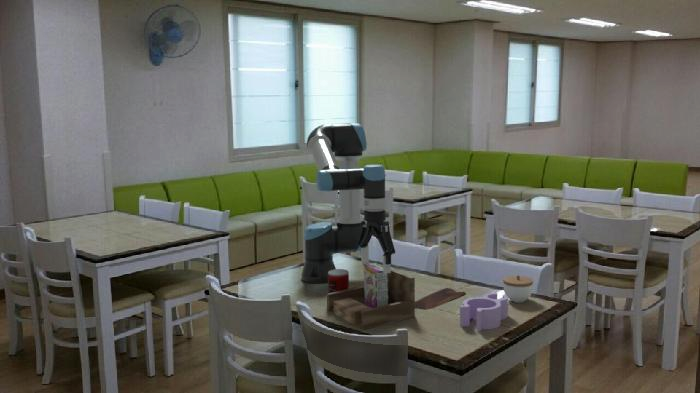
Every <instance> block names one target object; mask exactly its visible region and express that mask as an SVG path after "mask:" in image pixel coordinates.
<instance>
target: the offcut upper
mask: <svg viewBox="0 0 700 393" xmlns="http://www.w3.org/2000/svg"><path fill="white" fill-rule="evenodd" d="M334 309H336V310H338V311H340V312H342V313H344V314H346V315H347V316H349V317H351V318H353V319H359V318H361V311H363V310H367V309H371V308H370V307H368V306H366V305H365V303H360V302H358V301H356V300H354V299H352V298H348V299H343V300H338V301H334Z"/></svg>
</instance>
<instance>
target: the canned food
mask: <svg viewBox="0 0 700 393" xmlns="http://www.w3.org/2000/svg"><path fill="white" fill-rule="evenodd" d="M349 273H350V272H349V270H347V269H343V268H336V269H334V270H331V271H329V272H328V282H327V288H328V290H327V291H328V293H332V292H337V291H342V290H347V289H350V286H349V285H350V280H349V279H350V278H349V277H350V275H349Z"/></svg>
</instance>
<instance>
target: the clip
mask: <svg viewBox="0 0 700 393" xmlns="http://www.w3.org/2000/svg"><path fill="white" fill-rule="evenodd" d="M459 307H460V308H459V326H460V327H468V326H470V324H471V323H470V322H471V321H470V320H471V319H476V331H477V332H481V331H482V330H493V329H496V328H499V327H500V326H501V320H505V318H506V319H507V318H508V316H509V298H508V296H507V295H506V294H503V295H502V298H499V299H498V293H497V292H489V293H485V294H484V295H483V296H479V297H478V296H477V297H476V296H475V297H470V298H466V299H464V300H463V302H462V305H460V306H459Z"/></svg>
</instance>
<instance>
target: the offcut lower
mask: <svg viewBox="0 0 700 393" xmlns="http://www.w3.org/2000/svg"><path fill="white" fill-rule="evenodd" d="M334 313H335V314H334ZM333 314H334V315H335V316H337V315H338V317H339V316H340V317H339V318H341V319H343V320H345V321H346V322H348V323H350V324H351V325H353V326H359V325H361V318H359V319H353V318H351V317H349V316H347V315H346V314H344V313H342V312H340V311H338V310H336V309H334V310H333Z"/></svg>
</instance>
